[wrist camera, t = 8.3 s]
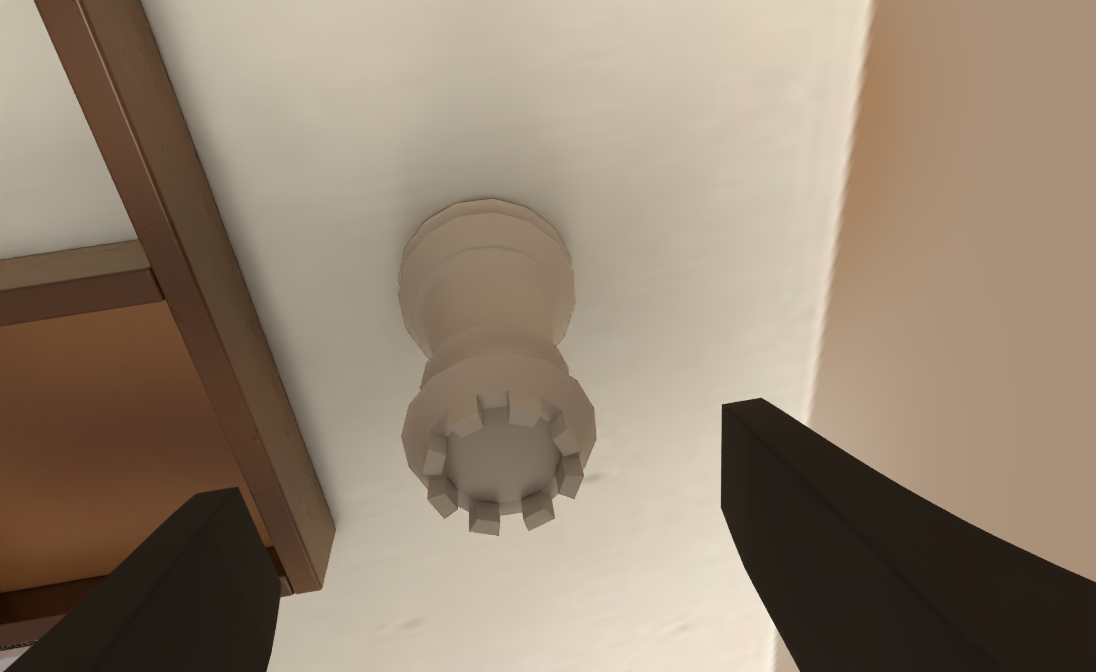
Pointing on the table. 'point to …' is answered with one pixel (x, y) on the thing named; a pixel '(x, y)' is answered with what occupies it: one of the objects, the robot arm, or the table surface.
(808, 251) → the table surface
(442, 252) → the rook chess piece
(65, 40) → the walnut tray
